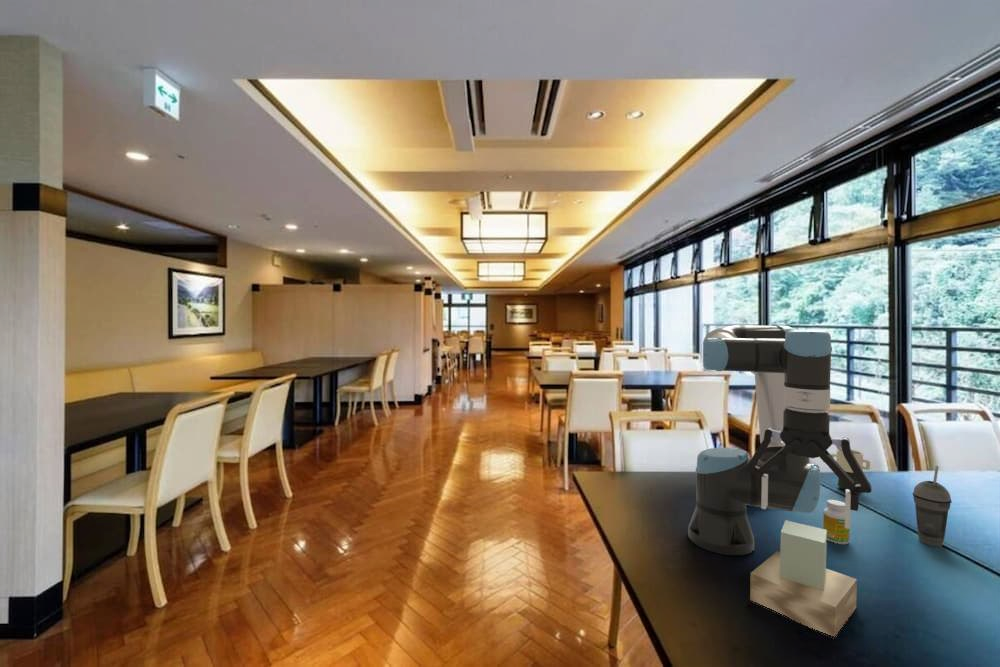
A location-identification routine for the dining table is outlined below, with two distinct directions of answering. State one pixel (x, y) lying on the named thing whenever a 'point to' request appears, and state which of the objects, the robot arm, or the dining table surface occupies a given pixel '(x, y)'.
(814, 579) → the sage block
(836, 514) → the supplement bottle
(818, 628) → the maple block
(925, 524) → the beverage cup
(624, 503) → the dining table surface
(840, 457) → the character mug
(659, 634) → the dining table surface
